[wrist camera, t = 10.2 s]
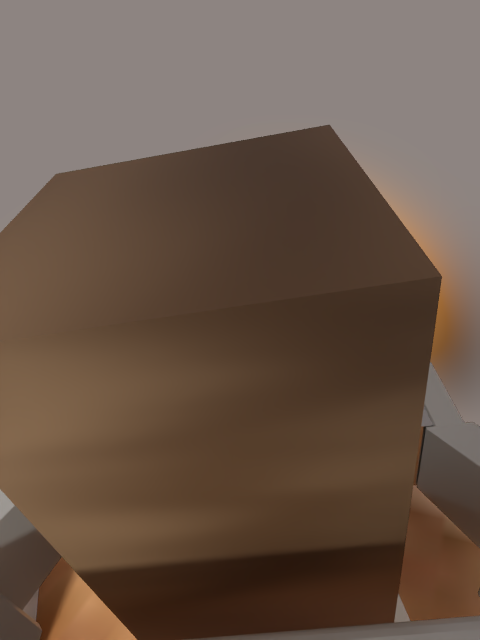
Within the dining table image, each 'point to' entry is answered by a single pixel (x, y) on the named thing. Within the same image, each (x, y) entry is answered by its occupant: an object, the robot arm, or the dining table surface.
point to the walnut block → (218, 384)
